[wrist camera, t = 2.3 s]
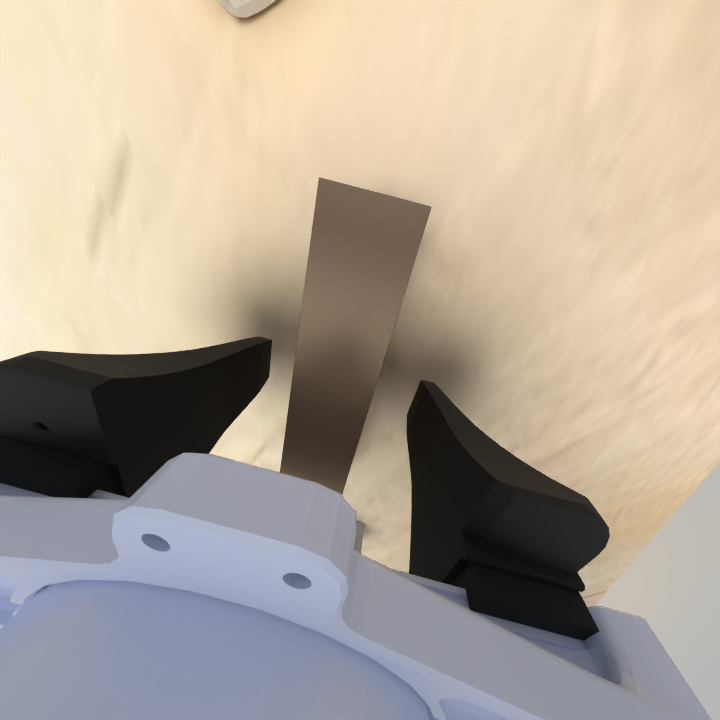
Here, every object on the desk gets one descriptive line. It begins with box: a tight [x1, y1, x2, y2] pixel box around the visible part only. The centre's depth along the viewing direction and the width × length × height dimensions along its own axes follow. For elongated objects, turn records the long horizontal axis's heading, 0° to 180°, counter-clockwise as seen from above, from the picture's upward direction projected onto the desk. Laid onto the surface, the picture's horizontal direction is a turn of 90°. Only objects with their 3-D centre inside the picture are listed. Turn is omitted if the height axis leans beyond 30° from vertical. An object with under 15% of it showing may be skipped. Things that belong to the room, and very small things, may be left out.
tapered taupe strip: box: [280, 177, 431, 495], centre depth 11 cm, size 14×2×6 cm, turn 167°
